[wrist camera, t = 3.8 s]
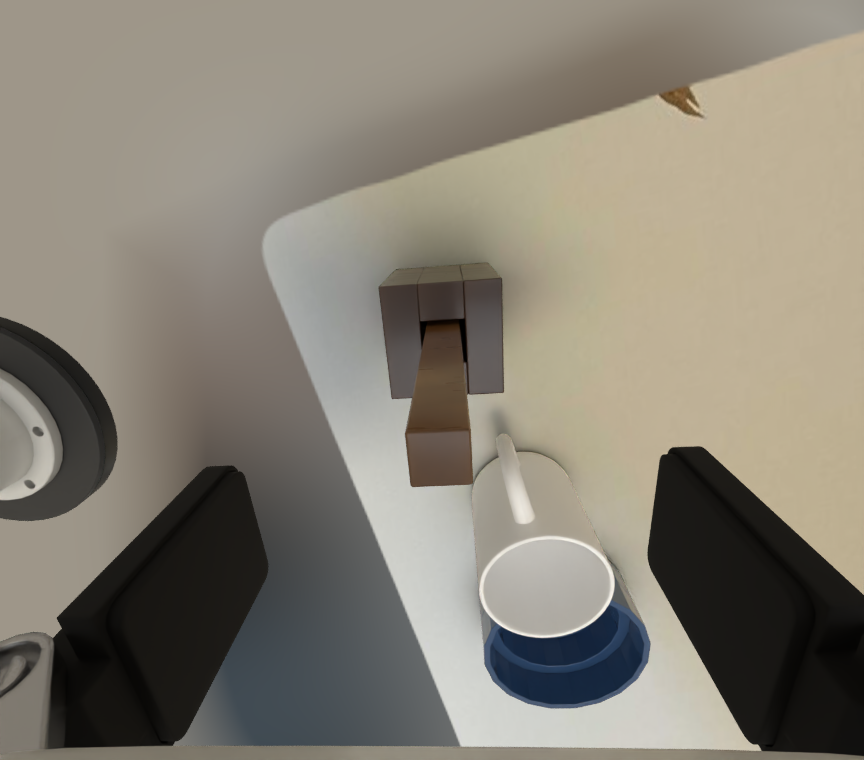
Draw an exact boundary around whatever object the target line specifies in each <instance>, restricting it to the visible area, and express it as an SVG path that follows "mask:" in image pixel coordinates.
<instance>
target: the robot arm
mask: <svg viewBox="0 0 864 760" xmlns="http://www.w3.org/2000/svg"><path fill="white" fill-rule="evenodd" d="M62 457H63V445H62V440H61V435H60V432H59V429H58V427H57V424H56V422H55V420H54V418H53V417H52V415H51V413H50V411H49V410H48V408H47V407H46V406H45V405H44V403H43V402H42V401H41V400H40V398H39V397H38V396H37V395H36V394H35V393H34V392H33V391H32V390H31V389H30V388H28V387H27V386H26V385H25V384H24V383H22V382H21V381H20V380H18V379H17V378H15V377H14V376H13V375H11V374H9V373H8V372H6V371H4V370H2V369H0V500H14V499H21V498H24V497H26V496H29V495H32V494H33V493H35V492H37V491H38V490H40V489H41V488H43V487H45V486H46V485H47V484H48V483H49V482H51V481H52V480H53V479H54V477H55V476H56V474H57V473H58V471H59V469H60V466H61V463H62ZM648 562H649V566H650V568H651V571H652V573H653V574H654V576H655V578H656V580H657V581H658V583H659V585H660V587H661V589H662V590H663V592H664V594H665V596H666V598H667V599H668V601H669V603H670V605H671V606H672V608H673V610H674V612H675V614H676V615H677V617H678V619H679V621H680V622H681V624H682V626H683V628H684V630H685V631H686V633H687V635H688V637H689V639H690V640H691V642H692V644H693V646H694V647H695V649H696V651H697V653H698V655H699V656H700V658H701V660H702V662H703V663H704V665H705V667H706V669H707V671H708V672H709V674H710V676H711V678H712V680H713V681H714V683H715V685H716V687H717V688H718V690H719V692H720V694H721V696H722V697H723V699H724V701H725V703H726V704H727V706H728V708H729V710H730V712H731V713H732V715H733V717H734V719H735V721H736V722H737V724H738V726H739V728H740V729H741V731H742V733H743V734H744V736H745V737H746V739H747V740H748V741H749V742H750V743H752V744H758V745H759V747H760V748H761V750H762V751H740V750H708V749H631V748H550V747H428V746H427V747H425V746H423V747H422V746H173V744H174V742H175V741H179V740H180V739H182V737H183V736H184V735H185V734H186V732H187V730H188V729H189V727H190V725H191V723H192V721H193V719H194V717H195V715H196V713H197V711H198V709H199V707H200V705H201V703H202V702H203V699H204V698H205V696H206V694H207V692H208V690H209V688H210V686H211V684H212V682H213V680H214V678H215V676H216V674H217V673H218V671H219V669H220V667H221V665H222V662H223V661H224V659H225V657H226V655H227V653H228V651H229V649H230V647H231V645H232V643H233V641H234V639H235V638H236V636H237V634H238V632H239V630H240V628H241V626H242V624H243V622H244V620H245V618H246V616H247V614H248V612H249V611H250V609H251V607H252V604H253V603H254V601H255V599H256V597H257V595H258V593H259V591H260V589H261V587H262V585H263V583H264V581H265V579H266V577H267V573H268V560H267V556H266V553H265V549H264V545H263V541H262V538H261V534H260V530H259V527H258V523H257V519H256V516H255V512H254V508H253V504H252V501H251V497H250V493H249V490H248V486H247V482H246V479H245V476H244V474H243V473H242V472H238V470H237V469H236V468H235V467H234V466H212V467H211V466H210V467H206V468H205V469H203V470H202V471H201V472H200V473H199V474H198V475H197V476H196V477H195V478H194V479H193V480H192V481H191V482H190V483H189V484H188V485H187V486H186V487H185V488H184V489H183V491H182V492H181V493H179V495H177V496H176V497H175V499H174V500H173V501H172V502H171V503H170V504H169V505H168V506H167V507H166V508H165V509H164V510H163V511H162V512H161V513H160V514H159V515H158V516H157V517H156V518H155V519H154V520H153V521H152V522H151V523H150V524H149V525H148V526H147V527H146V528H145V529H144V530H143V531H142V532H141V533H140V534H139V535H138V536H137V537H136V538H135V539H134V540H133V541H132V542H131V543H130V544H129V545H128V546H127V547H126V548H125V549H124V550H123V551H122V552H121V553H120V554H119V555H118V556H117V557H116V558H115V559H114V560H113V562H111V563H110V564H109V565H108V566H107V567H106V568H105V570H103V572H101V573H100V574H99V575H98V576H97V577H96V578H95V580H94V581H93V582H92V583H91V584H90V585H89V586H88V587H87V588H86V589H85V590H84V591H83V592H82V593H81V594H80V595H79V596H78V597H77V598H76V599H75V600H74V601H73V602H72V603H71V604H70V605H69V606H68V607H67V608H66V609H65V610H64V611H63V612H62V613H61V614H60V615H59V616H58V617H57V620H58V622H59V623H60V625H61V627H62V629H61V630H60V631H59V632H58V633H57V634H56V636H55V637H54V638H52V637H50V636H49V635H47V634H46V633H41V632H30V633H25V634H20V635H17V636H14V637H11V638H9V639H6V640H3V641H1V642H0V760H864V595H863V594H862V593H861V592H860V591H859V590H858V589H857V588H855V587H854V586H853V585H852V584H851V583H850V582H849V581H848V580H847V579H846V578H845V577H844V576H842V575H841V574H840V573H839V572H838V571H837V570H836V569H835V568H834V567H833V566H832V565H830V564H829V563H828V562H827V561H826V560H825V559H824V558H823V557H822V556H821V555H820V554H819V553H817V552H816V551H815V550H814V549H813V548H812V547H811V546H810V545H809V544H808V543H807V542H806V541H804V540H803V539H802V538H801V537H800V536H799V535H798V534H797V533H796V532H795V531H794V530H793V529H791V528H790V527H789V526H788V525H787V524H786V523H785V522H784V521H783V520H782V519H781V518H779V517H778V516H777V515H776V514H775V513H774V512H773V511H772V510H771V509H770V508H769V507H768V506H766V505H765V504H764V503H763V502H762V501H761V500H760V499H759V498H758V497H757V496H756V495H755V494H753V493H752V492H751V491H750V490H749V489H748V488H747V487H746V486H745V485H744V484H743V483H741V482H740V481H739V480H738V479H737V478H736V477H735V476H734V475H733V474H732V473H731V472H730V471H728V470H727V469H726V468H725V467H724V466H723V465H722V464H721V463H720V462H719V461H718V460H717V459H715V458H714V457H713V456H712V455H711V454H710V453H709V452H708V451H707V450H706V449H704V448H703V447H699V446H697V447H673V448H671V449H670V450H669V452H668V454H666V455H662V456H661V458H660V462H659V470H658V477H657V485H656V492H655V500H654V507H653V515H652V522H651V530H650V537H649V545H648Z"/></svg>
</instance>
